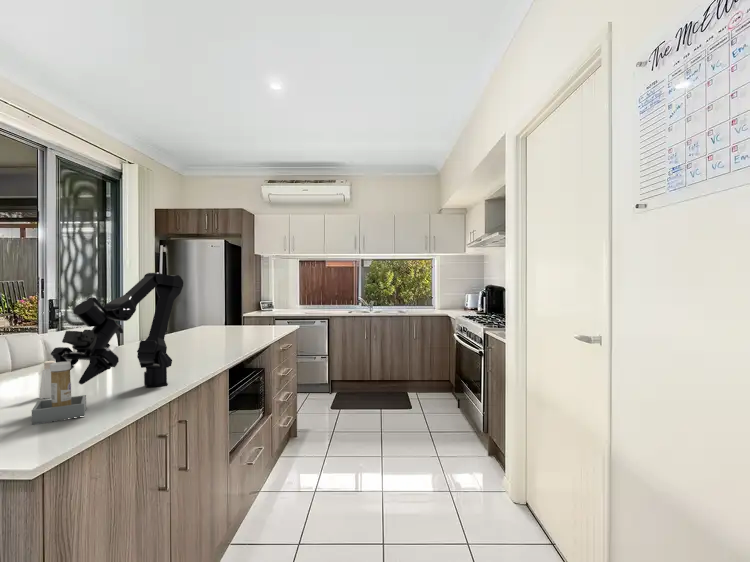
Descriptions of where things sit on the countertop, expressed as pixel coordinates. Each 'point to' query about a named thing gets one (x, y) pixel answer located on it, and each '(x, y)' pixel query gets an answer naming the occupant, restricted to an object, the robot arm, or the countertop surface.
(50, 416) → the tray
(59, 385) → the sprinkles bottle
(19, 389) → the countertop surface
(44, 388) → the pepper shaker
